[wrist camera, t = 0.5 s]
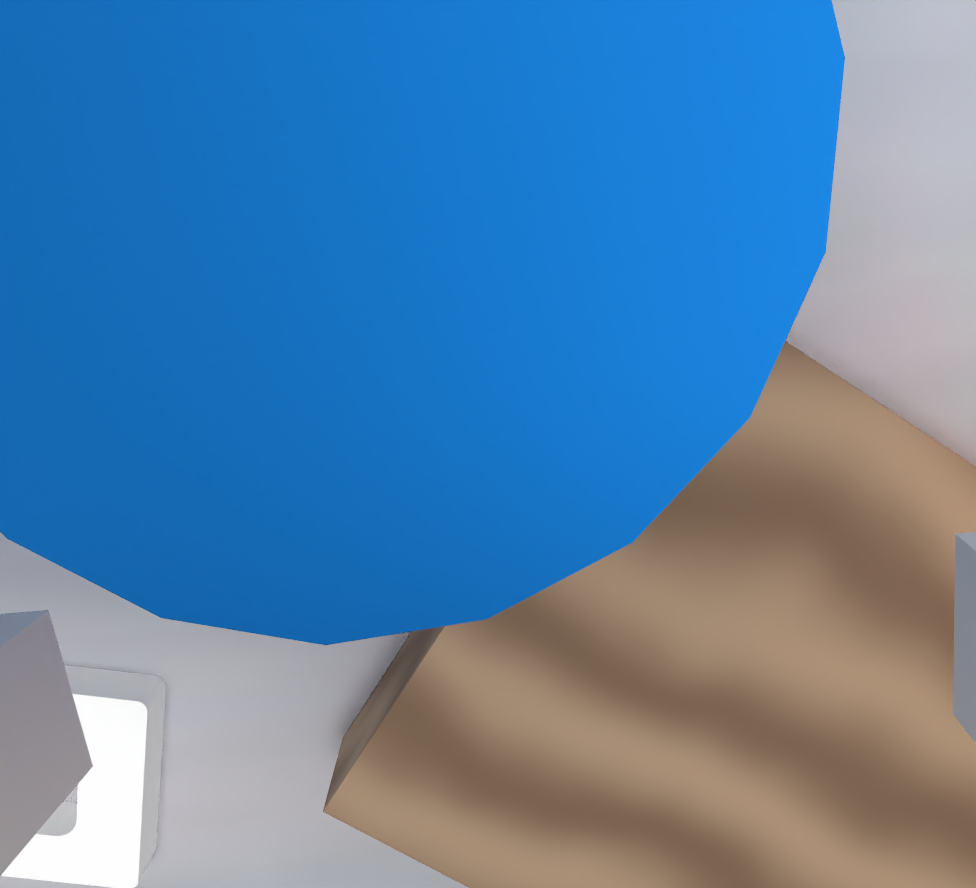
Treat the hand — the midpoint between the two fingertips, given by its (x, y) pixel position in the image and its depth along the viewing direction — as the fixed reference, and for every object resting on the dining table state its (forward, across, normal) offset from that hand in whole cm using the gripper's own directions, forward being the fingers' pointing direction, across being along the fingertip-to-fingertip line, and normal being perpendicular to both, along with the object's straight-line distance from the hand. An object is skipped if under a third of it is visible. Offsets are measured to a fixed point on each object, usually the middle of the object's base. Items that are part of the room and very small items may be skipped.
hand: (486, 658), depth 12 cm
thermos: (+23, -3, +6) cm, 24 cm away
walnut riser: (+23, +7, -13) cm, 27 cm away
